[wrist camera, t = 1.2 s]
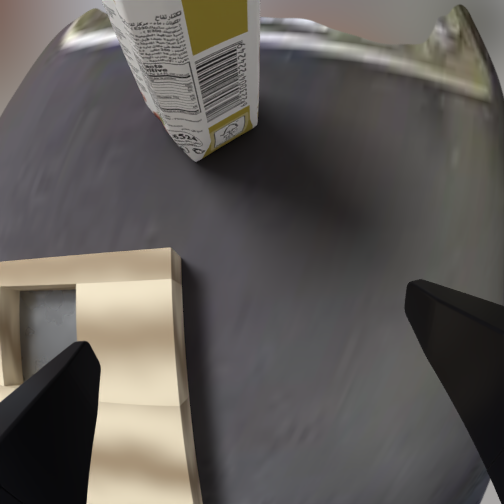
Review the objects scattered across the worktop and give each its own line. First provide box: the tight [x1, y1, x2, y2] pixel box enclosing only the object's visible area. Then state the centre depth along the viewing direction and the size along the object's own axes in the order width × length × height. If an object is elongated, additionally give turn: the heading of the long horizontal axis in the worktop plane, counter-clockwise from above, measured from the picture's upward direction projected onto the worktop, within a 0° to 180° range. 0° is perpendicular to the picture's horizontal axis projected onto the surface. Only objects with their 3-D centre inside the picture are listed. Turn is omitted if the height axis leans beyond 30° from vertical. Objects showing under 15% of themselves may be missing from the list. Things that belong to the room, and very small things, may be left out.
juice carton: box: [102, 0, 260, 162], centre depth 17 cm, size 8×9×19 cm
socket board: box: [0, 248, 203, 504], centre depth 19 cm, size 20×17×3 cm
